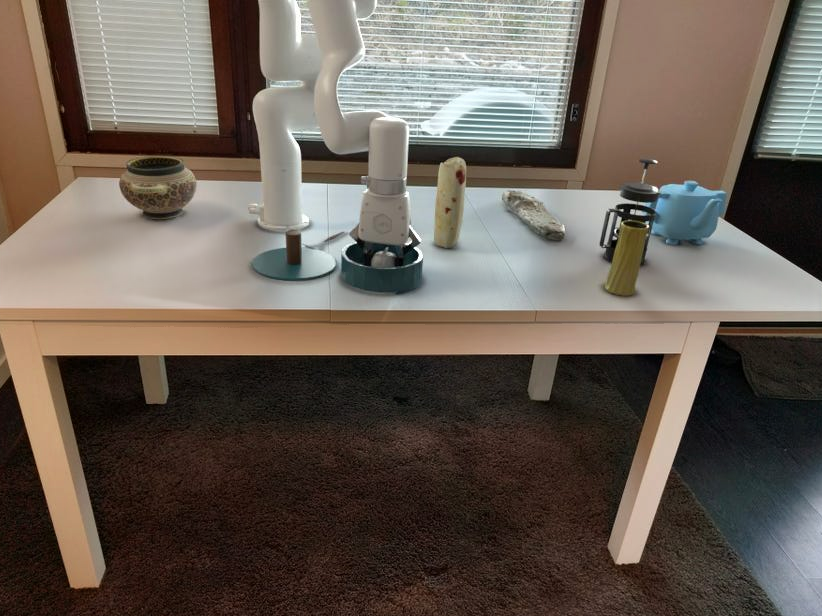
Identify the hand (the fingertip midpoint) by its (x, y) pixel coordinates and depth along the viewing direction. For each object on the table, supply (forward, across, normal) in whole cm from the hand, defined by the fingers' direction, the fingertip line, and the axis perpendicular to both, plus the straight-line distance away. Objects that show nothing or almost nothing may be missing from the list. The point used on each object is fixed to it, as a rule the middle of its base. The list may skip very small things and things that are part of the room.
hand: (383, 270), depth 136 cm
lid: (0, -19, -2) cm, 19 cm away
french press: (+1, +51, +27) cm, 58 cm away
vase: (+1, +49, +8) cm, 50 cm away
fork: (+1, -17, +14) cm, 22 cm away
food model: (+1, +10, +23) cm, 25 cm away
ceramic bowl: (+1, -62, +20) cm, 65 cm away
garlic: (+1, 0, 0) cm, 1 cm away
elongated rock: (+1, +29, +50) cm, 58 cm away
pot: (+1, 0, -2) cm, 2 cm away
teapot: (+1, +67, +47) cm, 82 cm away
